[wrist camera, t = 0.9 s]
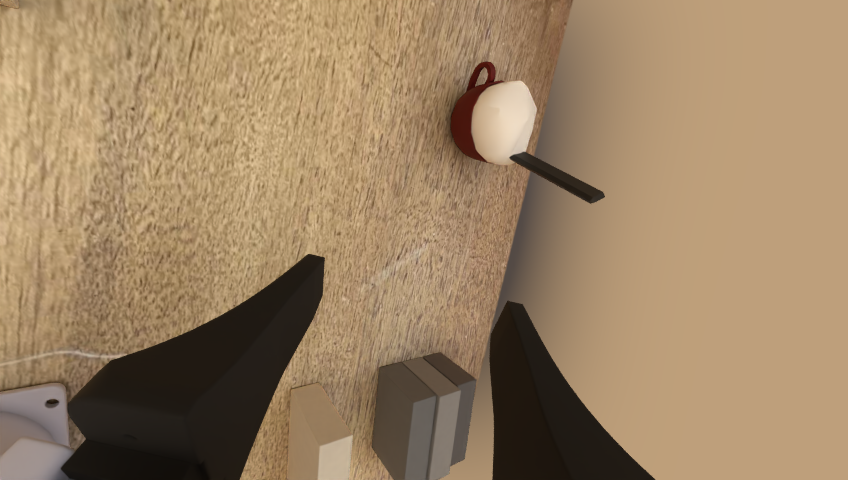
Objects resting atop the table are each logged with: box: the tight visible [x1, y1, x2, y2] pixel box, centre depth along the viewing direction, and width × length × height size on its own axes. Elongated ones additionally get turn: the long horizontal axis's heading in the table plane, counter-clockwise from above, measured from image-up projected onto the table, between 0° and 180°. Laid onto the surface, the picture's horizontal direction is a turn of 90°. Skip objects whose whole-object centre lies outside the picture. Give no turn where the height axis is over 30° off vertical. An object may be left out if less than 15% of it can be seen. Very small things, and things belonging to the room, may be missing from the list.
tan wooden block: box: [287, 383, 353, 480], centre depth 26 cm, size 8×2×6 cm, turn 172°
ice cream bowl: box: [451, 62, 605, 203], centre depth 27 cm, size 10×6×12 cm, turn 170°
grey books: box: [372, 353, 476, 480], centre depth 32 cm, size 8×7×6 cm
